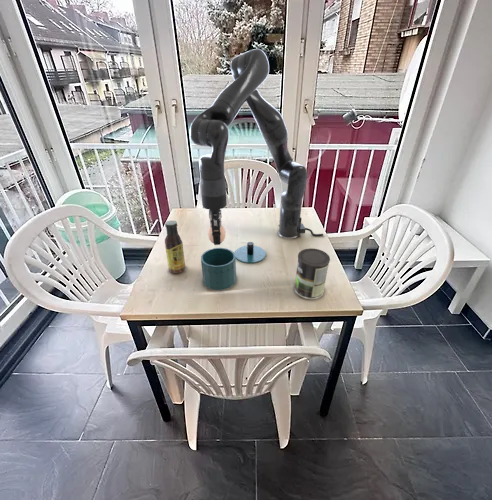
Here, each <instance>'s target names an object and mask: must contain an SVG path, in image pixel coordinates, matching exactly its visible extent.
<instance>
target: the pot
mask: <svg viewBox="0 0 492 500" xmlns="http://www.w3.org/2000/svg"><path fill="white" fill-rule="evenodd" d="M200 263H201V265H200V266H201V273H202V283H203V284H204V286H205V287H206V288H208V289H210V290H214V291H224V290H227V289H231V287H232V286H234V285H235V284H236V281H237V264H236V263H237V260H236V257H235V252H234V251H233V250H231V249H229V248H226V247H213V248H210V249H208V250H206V251H204V252H203V253H202V254H201V255H200Z"/></svg>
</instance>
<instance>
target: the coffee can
mask: <svg viewBox="0 0 492 500" xmlns="http://www.w3.org/2000/svg"><path fill="white" fill-rule="evenodd" d="M330 257H331V256H330V255H329V254H328V253H327V252H325V251H324V250H321V249H318V248H311V247H310V248H303V249H302V250H300V251H299V252H298V253H297V265H296V274H295V282H294V292H295V294H296V295H298V296H299V297H300V298H302V299H305V300H318V299H319V298H321V297H322V296H323V295H324V292H325V286H326V281H327V276H328V271H329V265H330V261H331V258H330Z"/></svg>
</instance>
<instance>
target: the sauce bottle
mask: <svg viewBox="0 0 492 500" xmlns="http://www.w3.org/2000/svg"><path fill="white" fill-rule="evenodd" d="M164 224H165V225H164V227H165V228H166V229H165V230H166V236H165V238H164V247H165V253H166V262H167V267H168V271H169V272H170V273H172V274H180V273H182V272H184V270H185V268H186V260H185V253H184V252H185V251H184V244H183V241H182V238H181V236H180V234H179V231H178V222H177V221H176V220H167V221H165V222H164Z"/></svg>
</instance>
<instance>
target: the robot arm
mask: <svg viewBox="0 0 492 500" xmlns="http://www.w3.org/2000/svg"><path fill="white" fill-rule="evenodd" d="M230 61H231V62H230V72H231V76H232V78H233V81H232V82H231V83H230V84H228V85H227V86H226V87H225V88H224V89H223V90H222V91H220V93H219V94H218V95H217V97H216V98H215V99H214V102H213V103H212V104H211V106H209V107H207V108H206V109H204V111H202V112H201V113H199V114H198V115H196V116H195V118H194V119H193V120H192V122H191V124H190V126H189V137H190V140H191V142H192V143H193V144H194V145H196V146H199V147H206V148H212V149H211V150H212V151H211V153H209V154H204V155H201V157H200V158H199V161H198V165H199V176H200V177H199V178H200V181H199V182H200V183H199V184H200V186H199V187H200V195H201V205H202V207H203V208H204V209H206V210H208V218H209V227H211V228H212V235H213V241H214V243H213V245H215V246H219V245H221V244H222V243H221V242H220V235H221V232H220V227H221V225H222V210H223V209H224V208H225V207H227V204H228V203H227V202H228V200H227V182H226V177H225V159H226V152H227V149H228V144H229V138H230V130H229V126H231V124H232V123H233V121H234V120H235V118H236V116H237V115H238V113H239V112H240V110H241V109H242V107H243V105H244V104H245V103H246V104H247V106H248V108H249V109H250V112H251V114H252V116H253V118H254V120H255V122H256V124H257V127H258V130H259V131H260V134H261V136H262V139H263V140H264V143H265V144H266V146H267V148H268V151H269V153H270V156H271V157H272V160H273V162H274V165H275V168H276V171H277V175H278V177H279V179H280V180H281V181H282V182H283V183H285V184H286V185H287V189H286V190H285V191H283V192H281V195H280V206H279V207H280V209H279V220H278V221H279V224H278V236H280V237H281V238H284V239H296V238H300V237H301V236H300V235H301V234H306V231H308V232H310V234H311V235H312V236H313V237H323V236H324V233H314V231H313V230H312V229H310V228H308V227H305V225H304V223H303V222H302V217H301V213H302V205H303V198H304V195H305V192H306V188H307V181H308V170H307V168H306V167H305V166H304V165H302V164H300V163H298V162H295V161H294V160H293V158H292V156H291V154H290V151H289V148H288V141H289V132H288V129H287V126H286V123H285V120H284V118H283V116H282V114H281V113H280V111H279V110H277V108H275V106H274V105H272V104H271V103H270V102H269V101H267V100H266V99H265V98H264V97H263V96H262V95H261V94H260V92H259V90H258V88H259V87H260V86H261V85H262V84H263V83H264V82H265V81H266V79H268V76H269V73H270V63H269V59H268V57H267V54H266V53H265V51H263V50H262V49H260V48H254V49H250V50H248V51H246V52H243V53H240V54H239V55H236V56H235V57H233V58H232V59H231V60H230ZM214 230H218V231H214Z"/></svg>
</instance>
